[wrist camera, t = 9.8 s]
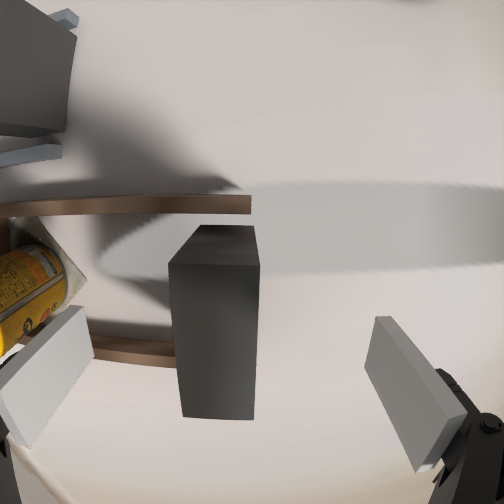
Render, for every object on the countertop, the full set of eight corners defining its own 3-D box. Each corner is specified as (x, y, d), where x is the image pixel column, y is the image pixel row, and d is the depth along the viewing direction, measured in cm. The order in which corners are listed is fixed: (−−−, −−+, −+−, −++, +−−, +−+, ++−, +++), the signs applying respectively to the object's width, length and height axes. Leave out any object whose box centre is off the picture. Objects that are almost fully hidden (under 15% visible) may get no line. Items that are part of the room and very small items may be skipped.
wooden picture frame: (254, 195, 20) (261, 212, 11) (249, 356, 23) (252, 444, 14) (-5, 203, 19) (-80, 222, 11) (16, 330, 22) (-39, 378, 14)
